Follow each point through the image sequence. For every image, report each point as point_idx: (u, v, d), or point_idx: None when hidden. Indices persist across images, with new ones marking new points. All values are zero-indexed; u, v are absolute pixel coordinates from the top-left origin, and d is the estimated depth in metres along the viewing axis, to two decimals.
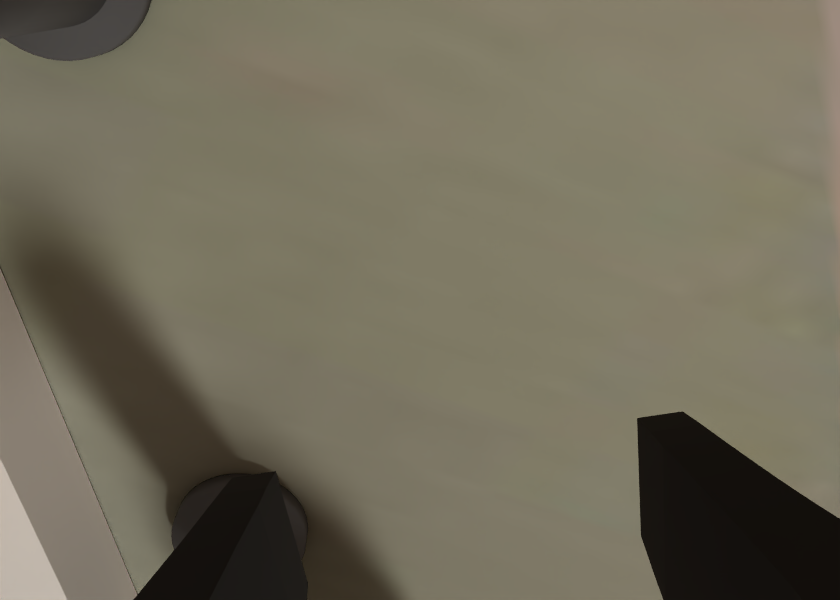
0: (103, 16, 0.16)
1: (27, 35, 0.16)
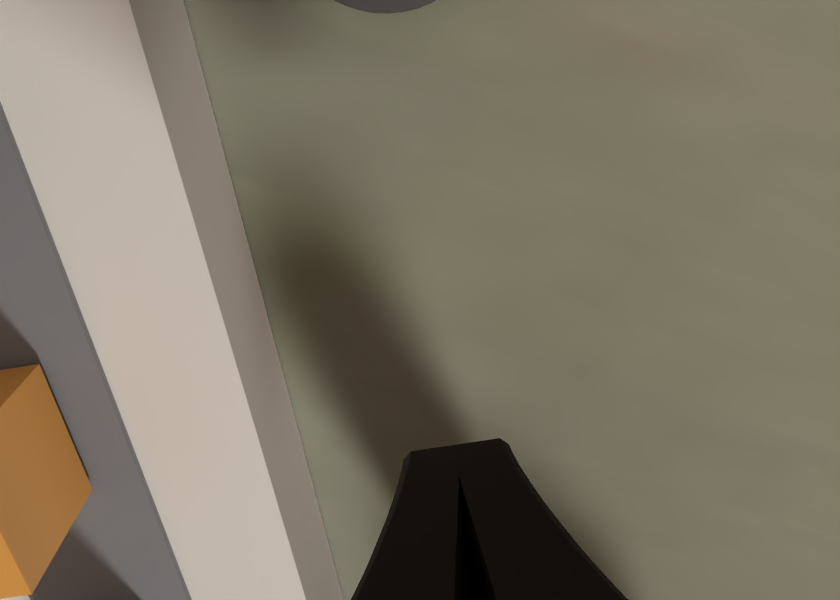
0: None
1: None
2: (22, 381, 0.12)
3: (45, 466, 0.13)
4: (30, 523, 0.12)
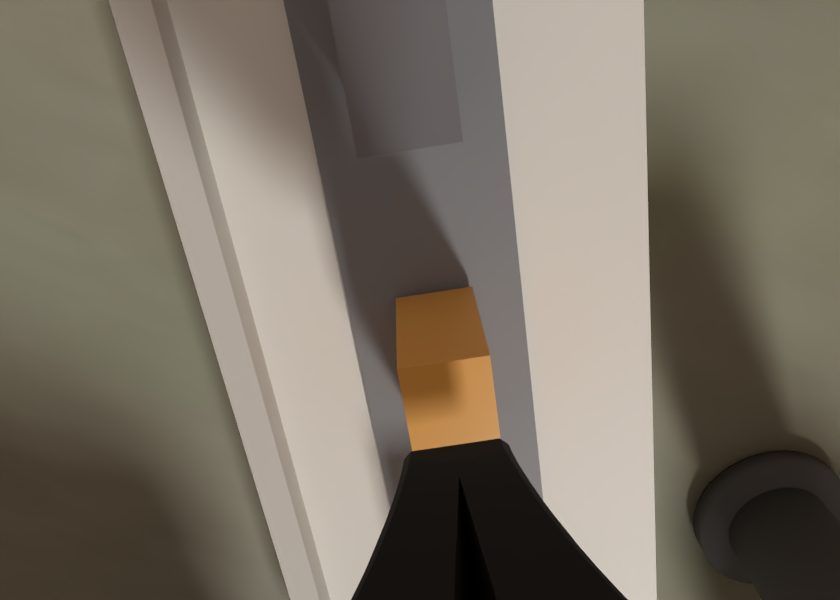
0: None
1: None
2: (475, 300, 0.13)
3: None
4: None
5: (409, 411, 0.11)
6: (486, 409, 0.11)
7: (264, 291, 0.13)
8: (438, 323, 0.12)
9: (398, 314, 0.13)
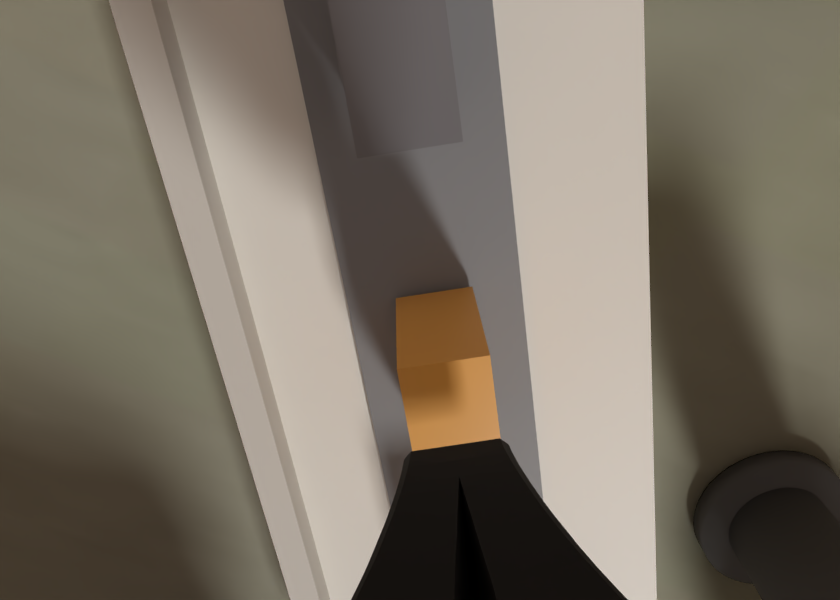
0: None
1: None
2: (475, 300, 0.13)
3: None
4: None
5: (409, 411, 0.11)
6: (486, 409, 0.11)
7: (264, 291, 0.13)
8: (438, 323, 0.12)
9: (398, 314, 0.13)
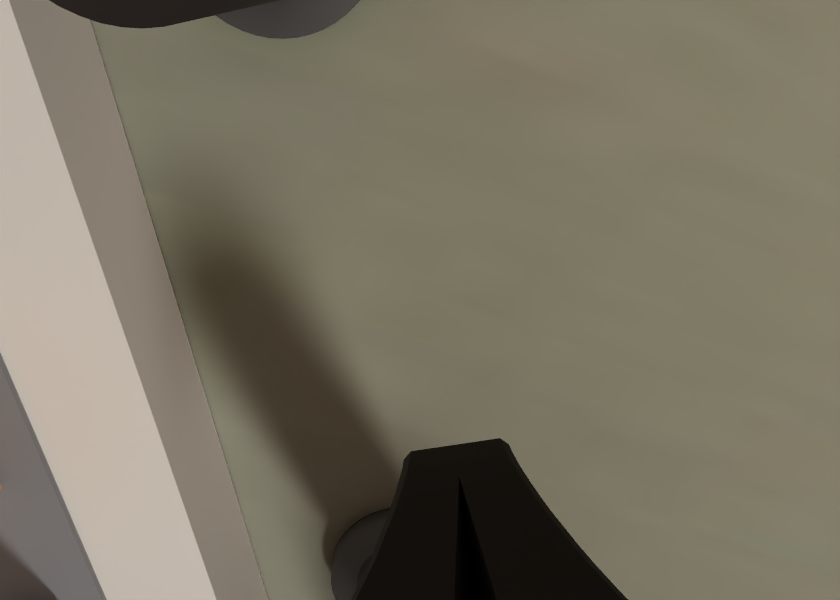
0: None
1: None
2: None
3: None
4: None
5: None
6: None
7: None
8: None
9: None
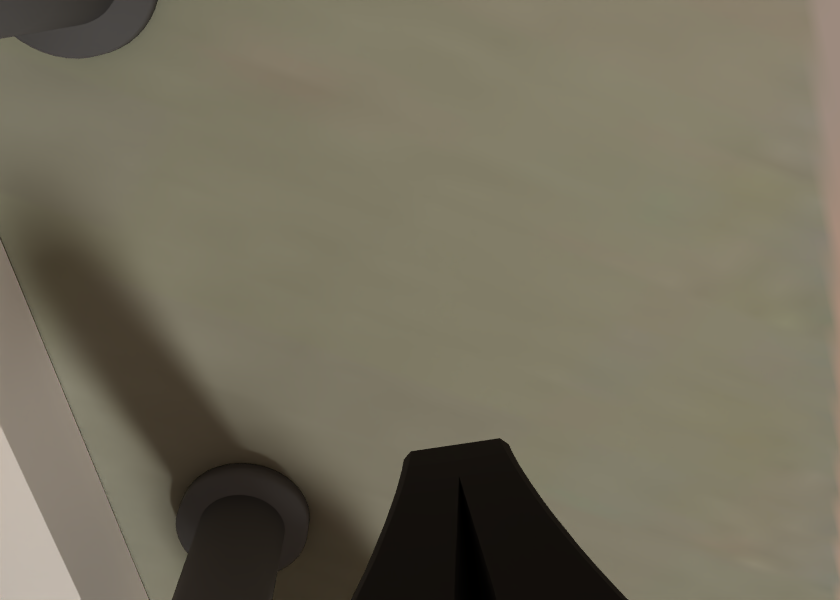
0: (111, 15, 0.16)
1: (37, 33, 0.16)
2: None
3: None
4: None
5: None
6: None
7: None
8: None
9: None
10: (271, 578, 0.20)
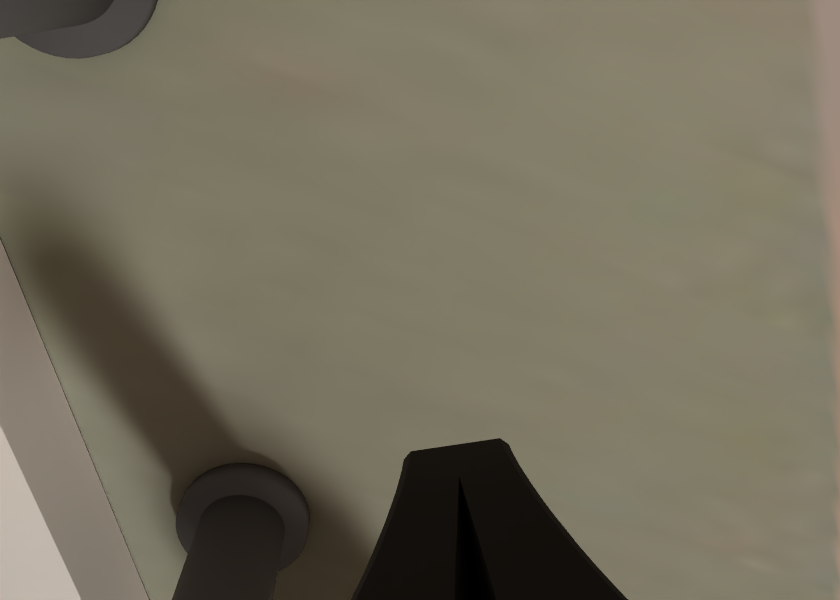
0: (111, 15, 0.16)
1: (37, 33, 0.16)
2: None
3: None
4: None
5: None
6: None
7: None
8: None
9: None
10: (271, 578, 0.20)
